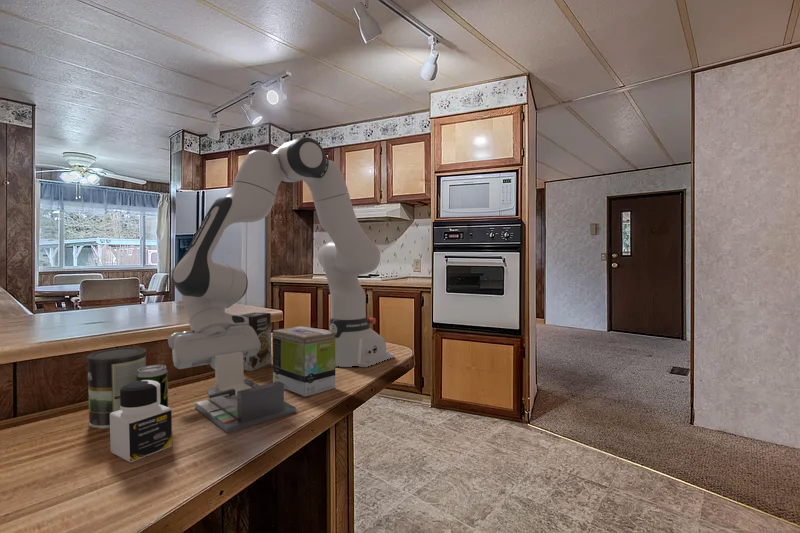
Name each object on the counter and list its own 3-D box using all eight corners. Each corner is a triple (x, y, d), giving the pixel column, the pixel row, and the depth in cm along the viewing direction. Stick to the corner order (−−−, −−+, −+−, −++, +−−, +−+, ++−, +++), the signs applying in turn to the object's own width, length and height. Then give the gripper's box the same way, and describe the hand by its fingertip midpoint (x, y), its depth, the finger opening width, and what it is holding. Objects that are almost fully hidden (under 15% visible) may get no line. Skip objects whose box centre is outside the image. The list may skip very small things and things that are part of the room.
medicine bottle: (130, 463, 68) (128, 392, 68) (109, 452, 72) (108, 385, 72) (173, 446, 75) (171, 381, 74) (152, 437, 78) (150, 374, 78)
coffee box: (253, 371, 121) (252, 316, 120) (235, 369, 123) (234, 315, 122) (272, 363, 130) (271, 312, 129) (255, 361, 132) (254, 311, 131)
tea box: (337, 388, 106) (336, 331, 106) (304, 398, 99) (303, 337, 98) (303, 376, 117) (303, 324, 116) (271, 384, 109) (270, 329, 109)
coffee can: (81, 432, 80) (79, 361, 80) (96, 413, 90) (94, 349, 89) (143, 424, 84) (141, 355, 84) (151, 406, 94) (149, 345, 93)
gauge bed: (258, 392, 103) (258, 364, 103) (296, 411, 90) (295, 380, 90) (195, 408, 93) (194, 377, 93) (227, 433, 80) (226, 397, 80)
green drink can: (137, 435, 79) (136, 373, 78) (137, 425, 83) (135, 367, 83) (170, 429, 82) (168, 369, 81) (167, 419, 86) (166, 363, 86)
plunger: (241, 391, 100) (240, 351, 100) (257, 400, 94) (257, 358, 93) (196, 401, 93) (195, 359, 93) (211, 413, 87) (210, 367, 86)
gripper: (168, 326, 96) (182, 376, 89) (253, 316, 110) (270, 359, 104) (163, 342, 99) (176, 392, 93) (246, 330, 114) (262, 373, 107)
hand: (227, 374), depth 98 cm, fingers closed
